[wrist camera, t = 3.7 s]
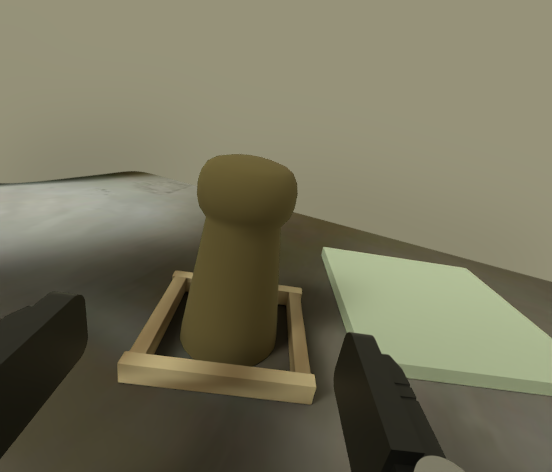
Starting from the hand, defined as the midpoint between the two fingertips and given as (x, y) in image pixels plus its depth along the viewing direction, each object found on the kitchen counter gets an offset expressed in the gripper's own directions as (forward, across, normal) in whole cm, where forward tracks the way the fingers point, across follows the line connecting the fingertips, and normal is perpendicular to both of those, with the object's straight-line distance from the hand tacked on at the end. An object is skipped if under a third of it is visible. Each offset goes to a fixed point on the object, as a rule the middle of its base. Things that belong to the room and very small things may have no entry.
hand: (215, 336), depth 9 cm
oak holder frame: (+8, 0, +7) cm, 11 cm away
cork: (+8, 0, +7) cm, 11 cm away
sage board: (+14, -16, +7) cm, 22 cm away
